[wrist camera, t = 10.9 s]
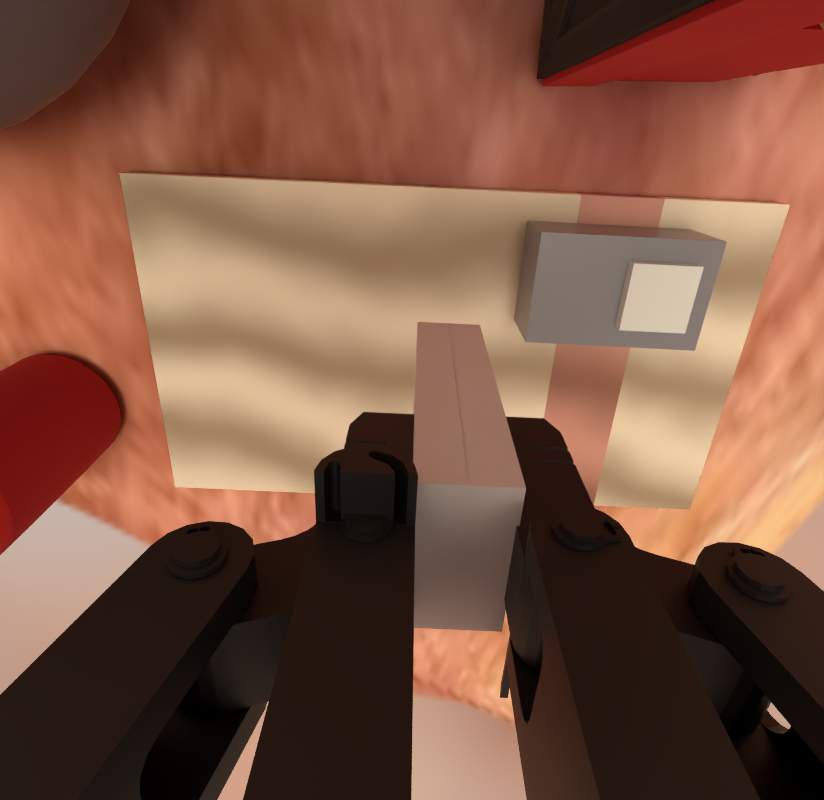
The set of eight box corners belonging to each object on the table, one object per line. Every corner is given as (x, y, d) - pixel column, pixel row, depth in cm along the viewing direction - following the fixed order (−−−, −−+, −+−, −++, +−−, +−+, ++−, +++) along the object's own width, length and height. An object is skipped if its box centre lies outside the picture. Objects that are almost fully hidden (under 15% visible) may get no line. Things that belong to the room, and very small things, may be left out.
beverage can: (-12, 364, 31) (-237, 483, 21) (92, 336, 31) (-87, 444, 20) (51, 460, 34) (-118, 608, 24) (148, 436, 33) (18, 579, 23)
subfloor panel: (131, 171, 27) (119, 172, 26) (775, 201, 27) (790, 204, 26) (182, 476, 35) (175, 486, 34) (681, 497, 35) (689, 509, 34)
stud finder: (527, 220, 26) (544, 234, 23) (690, 229, 26) (734, 244, 23) (514, 319, 29) (527, 346, 25) (664, 327, 29) (700, 355, 25)
